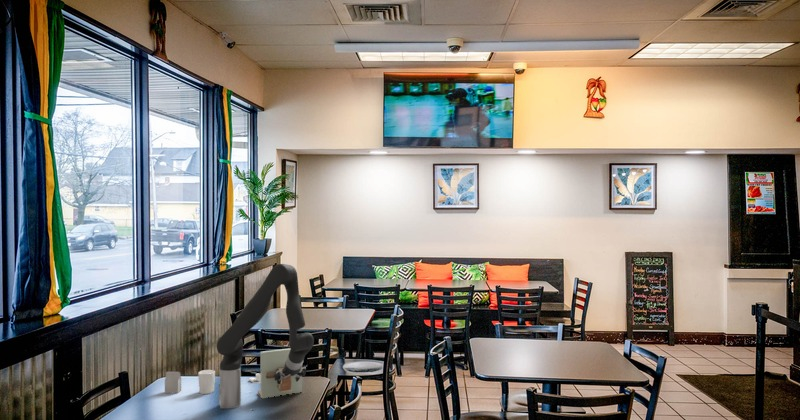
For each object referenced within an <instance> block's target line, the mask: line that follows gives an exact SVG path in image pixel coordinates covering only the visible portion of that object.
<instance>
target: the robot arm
mask: <svg viewBox="0 0 800 420" xmlns="http://www.w3.org/2000/svg"><path fill="white" fill-rule="evenodd" d="M282 285H283V286H284V288H285V292H286V298H287V299H286V306H285V314H286V318H287V323H288V327H289V339H288V341H289V342H288V346H289V348H291V350H290V352H289V355H288V357H287V360H286V362H285V365H284V369H283V370H279V369H277V370H276V372H275V374H274V378H275V381H276V380H277V383H278V384H280V383H281V380H282V379H285V378H286V377H288V376H296V377H295V379H296V382H297V381H298V380H299V379H300V377H301V376H302V377H306V373H307V368H306V365H303V363H304V360H305V357H306V355H307V354H308V353H309V352H310V351H311V349H312V348H313V347H314V344H315V343H314V342H315V338H314V336H313V334H311V333H310V332H302V333H299V334H297V333H298V332H297V331H298V330H301V329H303V328H304V327H306V321H305V317H304V313H303V310H302V303H301V299H300V289H299V280H298V272H297V269H296V268H295V266H293V265H291V264H285V263H277V264H275V265H274V266H273V267H272V268H271V270H270V271H269V273H268V275H267V276H266V278H265V280H264V281H263V283H262V284H261V286H260V287H259V288H258V290H257V291H256V292H255V293H254V295H253V297H251V299H249V301H248V302H247V304H246V305H245V307H243V309H242V311H241V312H240V313H239V315H238V316H237V317H236V319H235V320H234V322H233V323H232V325H230V327H229V328H228V329H227V330H226V331H225V332H224V333H223V334H222V335H221V336H220V337H219V339H218V340H217V343H216V351H217V353H218V354H219V355H222V356H223V357H222V359H221V361H220V363H219V384H218V406H219V407H220V409H233V408H239V407H240V406H241V405H242V403H241V402H242V394H241V393H242V389H241V388H242V387H241V385H242V383H241V382H242V381H241V379H242V377H241V376H242V372H241V371H242V370H241V369H242V366H241V364H242V361H243V352H244V351H243V349H244V345H243V344H244V342H243V337H244V336H245V335H246V334H247V333H248V332H249V331H251V330H252V329H253V328H254V327H255V326H256V325H257V324H258V323H259V322H260V321H261V320H262V319H263V317H264V316H265V315H266V314H267V312H268V310H269V309H270V306H271V300H272V297H273V295H274V294H275V292H276V291H277V290H278V288H279V287H281V286H282ZM300 371H301V372H300ZM284 375H285V376H284ZM281 376H282V377H281Z"/></svg>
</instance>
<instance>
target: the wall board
mask: <svg viewBox="0 0 800 420" xmlns="http://www.w3.org/2000/svg"><path fill="white" fill-rule="evenodd" d="M290 350H291V348H290V347H288V348H282V349H281V348H280V349H274V350H273V349H272V350H265V351H260V353H259V354H260V358H259V359H260V361H259V362H260V363H259V364H260V365H259V366H260V373H261V381H260V382H261V383H260V390H258V391H257V394H259V395H258V396H259V397H260V399H261V398H262V399H268V397H269V398H274V396H275V397H280V395H282V396H287V395H286V394H289V395H293V394H292V393H295V394H301V393H300V392H302V393H303V376H301V377H300V379H299V380H298V381H297V382H296V379H295V377H296V376H292V379H291V391H290V392H284V393H281V392H280V391H279V390H278V388H277V385H279V384H278V383H277V380H276V381H275V378H274V374H275V372H276V370H277V367H284V365H285V362H286V360H287V357H288V355H289V352H290ZM300 372H301V371H300Z"/></svg>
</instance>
